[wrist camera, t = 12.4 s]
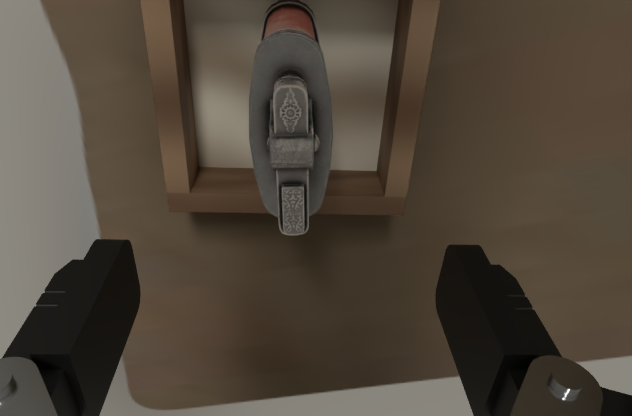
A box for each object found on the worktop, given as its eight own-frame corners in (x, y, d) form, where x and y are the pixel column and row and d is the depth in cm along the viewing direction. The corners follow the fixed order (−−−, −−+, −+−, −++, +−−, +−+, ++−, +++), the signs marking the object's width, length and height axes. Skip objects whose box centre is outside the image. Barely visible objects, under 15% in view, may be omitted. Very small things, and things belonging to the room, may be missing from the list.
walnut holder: (153, -64, 22) (132, -60, 19) (427, -50, 23) (448, -43, 20) (181, 180, 29) (169, 211, 26) (392, 184, 30) (403, 215, 27)
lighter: (254, -2, 23) (233, 51, 15) (323, -2, 23) (342, 51, 15) (263, 149, 28) (251, 256, 19) (322, 148, 28) (335, 254, 19)
